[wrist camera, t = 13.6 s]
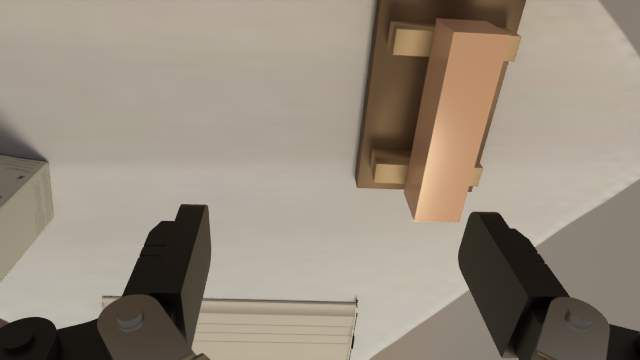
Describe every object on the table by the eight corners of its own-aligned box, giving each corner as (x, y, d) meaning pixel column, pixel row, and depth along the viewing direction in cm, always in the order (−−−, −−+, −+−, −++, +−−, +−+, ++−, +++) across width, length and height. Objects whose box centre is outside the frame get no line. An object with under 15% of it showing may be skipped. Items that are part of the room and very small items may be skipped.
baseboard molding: (103, 283, 54) (118, 348, 60) (93, 302, 51) (111, 367, 58) (357, 290, 56) (347, 352, 62) (359, 308, 54) (348, 371, 60)
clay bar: (436, 18, 34) (454, 31, 30) (487, 21, 35) (510, 35, 31) (403, 192, 43) (414, 220, 39) (444, 194, 43) (459, 222, 39)
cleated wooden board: (355, 180, 47) (360, 204, 43) (379, -15, 37) (388, -7, 33) (466, 184, 48) (481, 208, 44) (519, -6, 38) (543, 3, 34)
